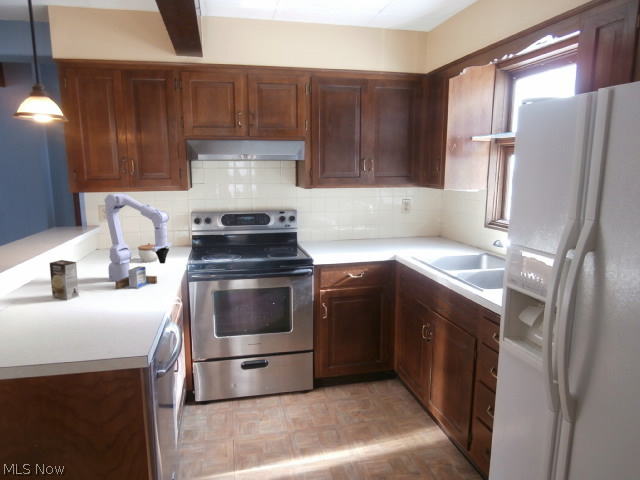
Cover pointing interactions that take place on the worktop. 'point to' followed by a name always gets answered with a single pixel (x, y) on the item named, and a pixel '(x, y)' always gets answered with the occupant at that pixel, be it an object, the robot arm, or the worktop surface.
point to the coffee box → (64, 279)
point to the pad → (138, 287)
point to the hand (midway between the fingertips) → (162, 263)
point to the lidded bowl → (147, 253)
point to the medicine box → (137, 276)
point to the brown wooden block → (125, 281)
